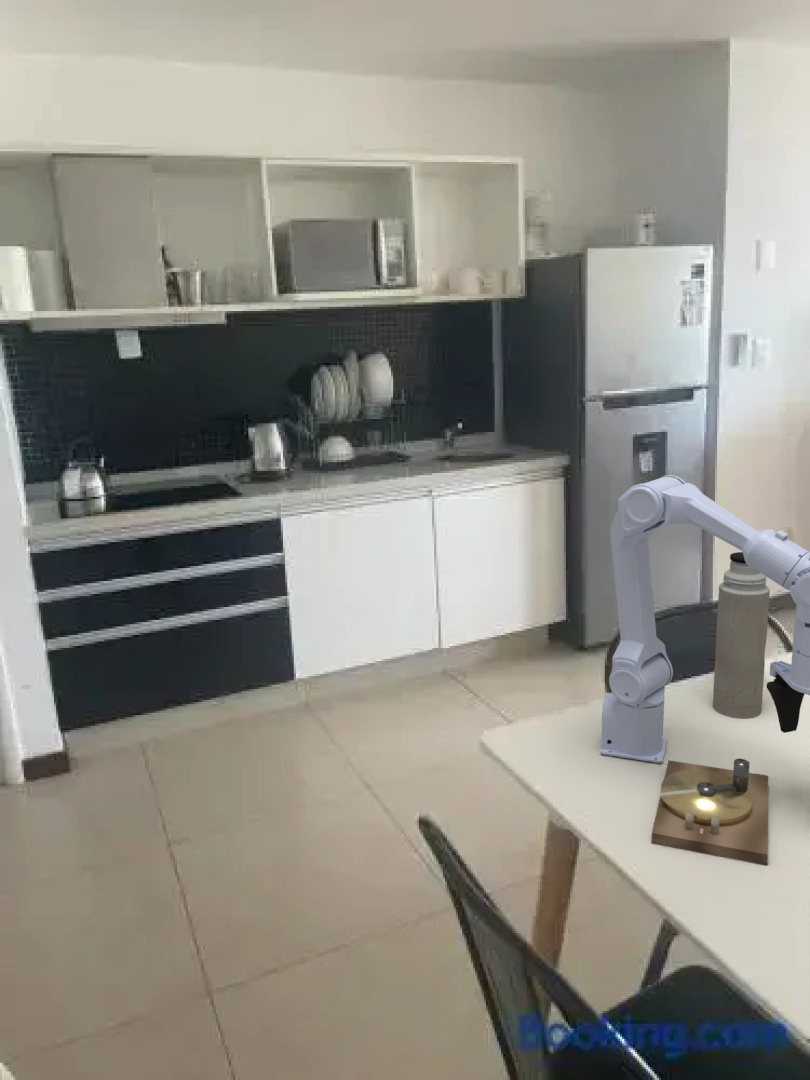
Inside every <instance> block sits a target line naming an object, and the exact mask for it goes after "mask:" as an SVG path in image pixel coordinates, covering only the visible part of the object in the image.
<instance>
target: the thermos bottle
mask: <svg viewBox="0 0 810 1080" xmlns="http://www.w3.org/2000/svg"><path fill="white" fill-rule="evenodd" d="M729 559H730V563H729V569H728V570H725V571H724V574H723V578H722V581H723V582H721V583H720V584H719V585H718V597H717V598H718V599H717V617H716V619H717V620H716V639H715V659H714V661H715V663H714V672H713V673H714V676H713V691H712V692H713V695H712V707H713V709H714V710H715V711H716V712H717V713H719V714H722V715H724V716H726V717H730V718H736V719H749V718H755V717H758V716H759V715H761V713H762V709H763V708H762V707H763V694H764V681H765V680H764V677H765V656H766V655H765V653H766V651H765V650H766V644H767V637H768V622H769V609H770V608H769V606H770V595H771V594H770V592H771V589H770V587H769V586H768V585H766V583H767V582H768V580H767V577H766V576H765V575H763V574H762V573H760V572H758V571H757V570H755V569H754V568H752V567H750V566H749V565H747V564H746V562H745V559H744V555H743V552H742V551H740V552H738V551H737V552H733V553H731V554H730V555H729Z"/></svg>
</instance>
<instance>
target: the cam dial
mask: <svg viewBox="0 0 810 1080" xmlns="http://www.w3.org/2000/svg"><path fill="white" fill-rule="evenodd" d="M750 766H751V764H750V761H749V760H747V759H745V758H735V759H734V760H733V769H732V770H733V778H732V777H730V776H727V775H724V774H721V773H717V772H713V771H707V770H683V771H678V772H675V773H672V774H670V775H669V776H667V777H666V778H665V777H664V778H665V779H664V778H663V780H662V781H661V783H660V793H659V797H660V796H661V800H662V803H663V804H664V806H665V807H666V808H667V809H668V810H670V811H671V812H672V813H674V814H675V815H677V816H679V817H681V818H683V819H685V818H686V813H687V812H691V813H693V814H694V819H693V822H695V823H699V824H704V825H711V818H712V817H718V818H719V819H720V821H719V826H725V825H732V824H736V823H739V822H742V821H743V820H745V819H746V818H748V817H749V815H750V814H751V812H752V803H753V797H752V794H751V792H750V790H749V789H748V780H749V773H750Z"/></svg>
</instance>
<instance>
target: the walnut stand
mask: <svg viewBox="0 0 810 1080" xmlns="http://www.w3.org/2000/svg"><path fill="white" fill-rule="evenodd" d="M666 764H667V765H666V769H665V774H664V778H663V780H664V779H665V778H666V777H667V776H669V775H670V774H672V773H675V772H678V771H683V770H707V771H713V772H717V773H721V774H724V775H727V776H730V777H732V778H733V770H734V769H727V768H721V767H715V766H708V765H701V764H695V763H688V762H681V761H675V760H667V763H666ZM748 789H749V790H750V792H751V794H752V797H753V803H752V812H751V814H750V815H749V817H748V818H746V819H745V820H743V821H742V822H739V823H736V824H732V825H725V826H719V821H720V819H719V818H718V817H712V818H711V825H704V824H699V823H695V822H693V819H694V814H693V813H691V812H687V813H686V818H685V819H683V818H681V817H679V816H677V815H675V814H674V813H672V812H671V811H670V810H668V809H667V808H666V807H665V806H664V804H663V803H662V800H661V796H660V795H659V800H658V805H657V810H656V814H655V818H654V822H653V828H652V831H651V844H656V845H661V846H666V847H671V848H675V849H676V848H677V849H681V850H686V851H693V852H697V853H703V854H707V855H713V856H718V857H723V858H729V859H734V860H738V861H744V862H749V863H753V864H760V865H764V866H768V859H769V856H768V855H769V775H767V774H766V775H765V774H760V773H754V772H753V773H752V772H749V780H748Z"/></svg>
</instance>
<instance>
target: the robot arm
mask: <svg viewBox="0 0 810 1080" xmlns="http://www.w3.org/2000/svg"><path fill="white" fill-rule="evenodd" d="M617 506H618V509H617V511H616V514H615V516H614V518H613V519H614V520H613V521H612V524H611V526H610V534H609V535H610V543H611V554H612V555H611V556H612V564H613V574H614V586H615V595H616V604H617V606H616V607H617V617H618V626H619V628H618V629H619V635H620V641H619V644H618V646H617V648H616V650H615V652H614V653H613V656H612V660H611V661H612V669H611V672H610V673H609V674H610V675H609V678H608V683H609V689H610V691H611V692H605V695H604V697H603V698H604V699H603V702H602V710H601V738H600V741H601V744H600V745H601V746H600V748H601V749H600V754H601V755H604V756H609V757H610V756H611V757H618V758H623V759H631V760H637V761H642V762H643V761H644V762H649V763H655V764H656V763H657V764H662V763H663V760H664V757H665V753H666V749H667V748H666V747H667V745H668V738H667V737H664V720H665V719H664V718H665V717H664V715H665V690H666V689H665V686H668V685H669V684H670V683H671V681H672V679H673V676H674V670H673V669H674V668H673V665H672V662H671V660H670V659H669V657H668V655H667V651H666V645H665V643H664V642H663V641H662V640H660V639H659V637H657V627H656V616H655V605H654V593H653V583H652V570H651V561H650V560H651V559H650V550H649V549H650V548H649V539H650V537H652V536H653V534H654V533H655V532H657V531H658V529H660V528H661V527H662V526H663V525H667V526H668V525H682V524H691V525H694V526H696V527H699V528H700V529H702V530H704V531H706V532H707V533H709V534H711V535H712V536H714V537H716V538H718V539H719V540H721V541H723V542H725V543H727V544H729V545H731V546H732V547H735V548H736V549H738V550H739V551H740V552H743V555H744V559H745V562H746V564H747V565H749V566H750V567H752V568H754V569H755V570H757V571H758V572H760V573H762V574H763V575H765V576H766V578H768V579H769V580H771V581H773V582H774V583H776V585H779V586H781V587H783V588H784V589H785V590H787V591H789V593H790V596H791V598H792V600H793V602H794V604H795V605H796V610H795V616H794V627H793V628H794V629H793V637H792V638H793V641H792V642H793V643H792V649H791V650H792V651H791V652H792V653H791V664H790V663H788V662H785V661H783V660H779V661H771V662H770V663H769V664H770V665H769V676H771V677H773V678H774V679H773V680H772V681H771V680H770V681H768V682H766V689H767V691H768V693H769V695H770V696H771V698H772V700H773V703H774V706H775V710H776V714H777V718H778V723H779V728H780V731H781V733H783V734H785V733H791V732H796V731H797V729H798V725H799V720H800V713H801V706H802V703H803V700H804V697H805V695H808V696H810V551H809V550H807V549H805V548H804V547H802V546H801V545H799V544H798V543H795V542H794V541H793V540H790V539H789V538H788V537H789V533H787V532H786V531H784V530H782V529H780V530H777V531H775V530H773V529H771V528H767V529H763V530H756V529H755V528H754V527H752V526H751V525H749V524H747V522H745V521H743V520H742V519H740V518H739V517H738V516H736V515H734V513H732V512H731V511H729V510H727V509H725V508H724V507H722V506H721V505H720V504H718V503H717V502H715V501H714V500H712V499H711V498H710V497H708V496H707V495H705V494H704V493H703V492H701V490H700V489H699V488H698V487H697V486H696V485H695V484H692V483H689V482H686V481H685V480H684V479H683V478H681V477H679V476H677V475H673V474H667V475H666V474H665V475H663V476H661V477H659V478H657V479H653V480H650V481H647V482H644V483H639V484H638V483H637V484H635V485H633V486H631V487H630V488H628V489H627V490H626V491H625V492H624V493H622V495H621V496H619V498H618V499H617Z"/></svg>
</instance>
